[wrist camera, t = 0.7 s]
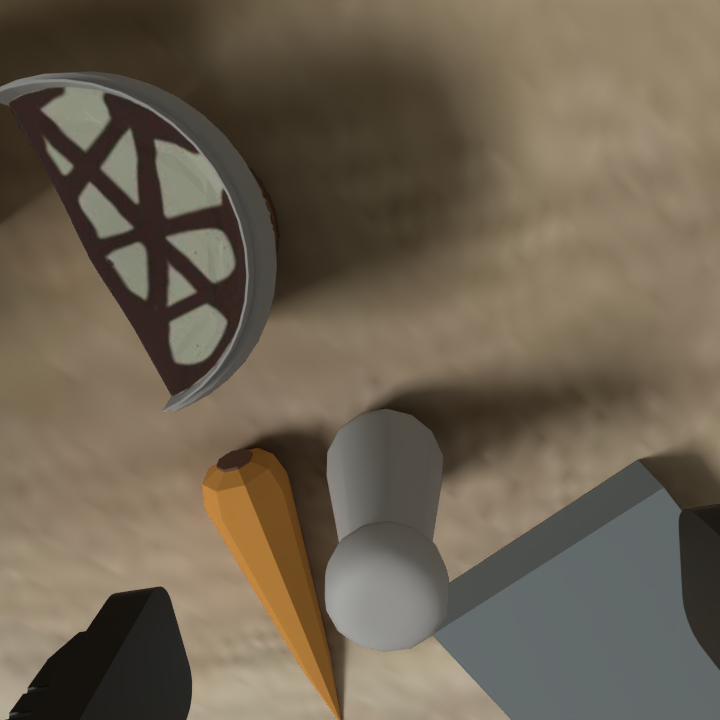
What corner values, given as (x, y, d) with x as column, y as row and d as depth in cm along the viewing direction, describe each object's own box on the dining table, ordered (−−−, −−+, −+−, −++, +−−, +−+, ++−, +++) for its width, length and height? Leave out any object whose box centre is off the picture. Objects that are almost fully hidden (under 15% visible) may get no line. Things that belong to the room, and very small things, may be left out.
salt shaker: (434, 496, 33) (468, 690, 20) (330, 492, 33) (299, 682, 20) (441, 395, 31) (482, 538, 18) (331, 392, 31) (298, 531, 19)
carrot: (224, 435, 33) (172, 485, 29) (292, 433, 31) (245, 487, 27) (326, 687, 40) (295, 752, 36) (387, 700, 38) (360, 770, 34)
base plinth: (637, 459, 32) (663, 487, 29) (769, 633, 34) (805, 674, 31) (427, 597, 34) (432, 634, 31) (565, 747, 37) (580, 794, 34)
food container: (345, 303, 30) (328, 359, 20) (236, 350, 31) (170, 426, 21) (232, 54, 27) (148, -19, 17) (115, 115, 28) (-27, 77, 18)
